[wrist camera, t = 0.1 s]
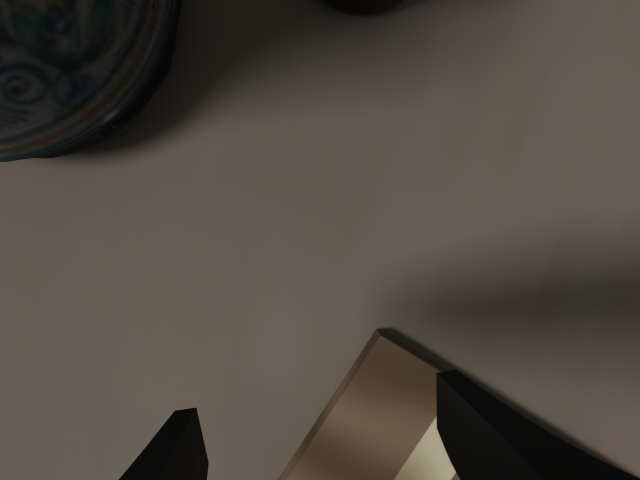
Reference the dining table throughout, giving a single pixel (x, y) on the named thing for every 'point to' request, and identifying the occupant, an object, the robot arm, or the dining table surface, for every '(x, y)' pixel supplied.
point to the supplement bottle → (362, 6)
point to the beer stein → (78, 70)
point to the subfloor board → (378, 422)
